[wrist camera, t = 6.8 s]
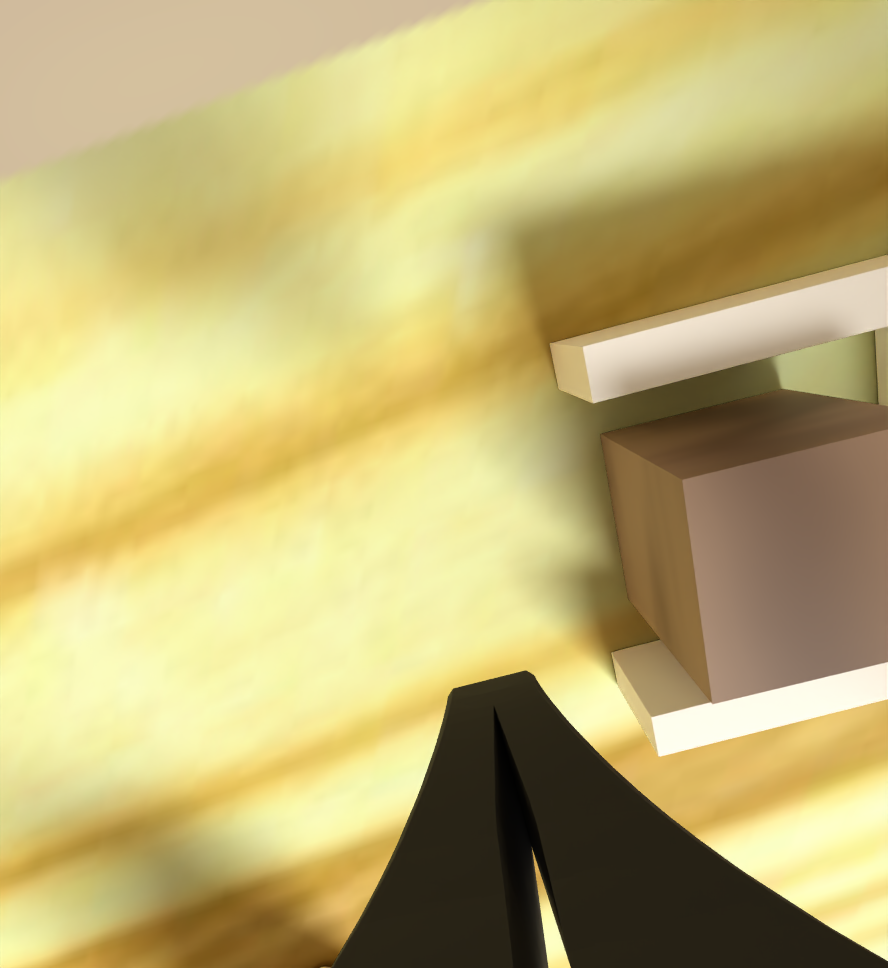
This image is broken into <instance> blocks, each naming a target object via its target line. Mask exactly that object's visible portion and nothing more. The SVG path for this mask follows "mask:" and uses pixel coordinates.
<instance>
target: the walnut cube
mask: <svg viewBox="0 0 888 968" xmlns="http://www.w3.org/2000/svg"><path fill="white" fill-rule="evenodd" d="M600 437H601V443H602V448H603V454H604V460H605V466H606V472H607V478H608V484H609V489H610V495H611V501H612V507H613V513H614V519H615V525H616V530H617V536H618V542H619V548H620V554H621V560H622V566H623V571H624V577H625V583H626V589H627V595H628V599H629V601H630V602H631V603H632V604H633V606H634V607H635V608H636V609H637V611H638V612H639V613H640V614H641V616H642V617H643V618H644V619H645V621H646V622H647V623H648V624H649V626H650V627H651V628H652V629H653V631H654V632H655V633H656V634H657V636H658V637H659V638H660V639H661V641H662V642H663V643H664V644H665V646H666V647H667V648H668V649H669V651H670V652H671V653H672V654H673V656H674V657H675V658H676V659H677V661H678V662H679V663H680V664H681V666H682V667H683V668H684V669H685V671H686V672H687V673H688V674H689V676H690V677H691V678H692V679H693V681H694V682H695V683H696V684H697V686H698V687H699V688H700V689H701V691H702V692H703V693H704V694H705V696H706V697H707V698H708V699H709V701H710V702H711V703H712V704H716V703H720V702H724V701H729V700H733V699H737V698H741V697H745V696H749V695H754V694H758V693H762V692H766V691H770V690H774V689H778V688H783V687H787V686H791V685H795V684H799V683H803V682H808V681H812V680H816V679H820V678H824V677H828V676H832V675H837V674H841V673H845V672H849V671H853V670H857V669H862V668H866V667H870V666H874V665H878V664H882V663H886V662H888V406H885V405H879V404H873V403H866V402H860V401H854V400H848V399H842V398H835V397H829V396H823V395H817V394H811V393H804V392H798V391H792V390H786V389H780V390H776V391H772V392H768V393H764V394H760V395H756V396H752V397H748V398H744V399H739V400H735V401H731V402H727V403H723V404H719V405H715V406H711V407H707V408H703V409H699V410H695V411H691V412H687V413H683V414H679V415H675V416H671V417H667V418H663V419H658V420H654V421H650V422H646V423H642V424H638V425H634V426H630V427H626V428H622V429H618V430H614V431H610V432H606V433H602V434H600Z"/></svg>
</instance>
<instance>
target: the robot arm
mask: <svg viewBox="0 0 888 968" xmlns="http://www.w3.org/2000/svg"><path fill="white" fill-rule="evenodd" d="M532 849H533V852H534V855H535V858H536V861H537V864H538V867H539V870H540V873H541V877H542V880H543V883H544V886H545V889H546V892H547V895H548V898H549V901H550V904H551V907H552V911H553V914H554V917H555V920H556V923H557V926H558V929H559V932H560V935H561V938H562V941H563V945H564V948H565V951H566V954H567V957H568V960H569V963H570V966H571V968H888V961H886V960H885V959H883V958H881V957H880V956H878V955H876V954H874V953H873V952H871V951H869V950H868V949H866V948H864V947H862V946H861V945H859V944H857V943H856V942H854V941H852V940H850V939H849V938H847V937H845V936H844V935H842V934H840V933H838V932H837V931H835V930H833V929H832V928H830V927H828V926H827V925H825V924H824V923H822V922H821V921H819V920H818V919H816V918H814V917H813V916H811V915H810V914H808V913H807V912H805V911H804V910H802V909H801V908H799V907H797V906H796V905H794V904H793V903H791V902H790V901H788V900H787V899H785V898H783V897H782V896H780V895H779V894H777V893H776V892H774V891H773V890H771V889H770V888H768V887H766V886H765V885H763V884H762V883H760V882H759V881H757V880H756V879H754V878H753V877H751V876H749V875H748V874H746V873H745V872H743V871H742V870H740V869H739V868H738V867H736V866H735V865H733V864H732V863H731V862H729V861H728V860H726V859H725V858H724V857H722V856H721V855H720V854H718V853H717V852H715V851H714V850H713V849H711V848H710V847H709V846H707V845H706V844H704V843H703V842H702V841H700V840H699V839H698V838H696V837H695V836H694V835H692V834H691V833H690V832H689V831H687V830H686V829H685V828H683V827H682V826H681V825H680V824H678V823H677V822H676V821H674V820H673V819H672V818H671V817H669V816H668V815H667V814H666V813H664V812H663V811H662V810H661V809H660V808H658V807H657V806H656V805H655V804H654V803H652V802H651V801H650V800H649V799H648V798H647V797H645V796H644V795H643V794H642V793H641V792H640V791H638V790H637V789H636V788H635V787H634V786H633V785H632V784H631V783H630V782H629V781H627V780H626V779H625V778H624V777H623V776H622V775H621V774H620V773H619V772H618V771H616V770H615V769H614V768H613V767H612V766H611V765H610V764H609V763H608V762H607V761H606V760H605V759H604V758H603V757H602V756H601V755H600V754H599V753H598V752H597V751H596V750H595V749H594V748H593V747H592V746H591V745H590V744H589V743H588V742H587V741H586V740H585V739H584V738H583V736H582V735H581V734H580V733H579V732H578V731H577V730H576V729H575V728H574V727H573V726H572V725H571V724H570V723H569V721H568V720H567V719H566V718H565V717H564V716H563V714H562V713H561V712H560V711H559V710H558V708H557V707H556V706H555V705H554V704H553V702H552V701H551V700H550V698H549V697H548V696H547V695H546V693H545V692H544V690H543V689H542V688H541V686H540V684H539V683H538V681H537V680H536V678H535V676H534V675H533V674H531V673H530V672H528V671H522V672H518V673H514V674H510V675H506V676H502V677H498V678H494V679H490V680H486V681H482V682H478V683H474V684H470V685H466V686H462V687H458V688H454V689H453V690H452V691H451V693H450V694H449V696H448V700H447V705H446V710H445V714H444V718H443V722H442V726H441V729H440V733H439V736H438V739H437V743H436V746H435V749H434V752H433V755H432V758H431V761H430V763H429V766H428V769H427V772H426V775H425V778H424V781H423V783H422V786H421V789H420V791H419V794H418V797H417V799H416V802H415V804H414V806H413V809H412V811H411V813H410V816H409V818H408V820H407V823H406V825H405V827H404V830H403V832H402V834H401V837H400V839H399V842H398V844H397V846H396V848H395V850H394V852H393V855H392V857H391V859H390V861H389V863H388V865H387V867H386V869H385V871H384V873H383V875H382V877H381V879H380V881H379V883H378V885H377V887H376V889H375V891H374V893H373V895H372V896H371V898H370V900H369V902H368V904H367V906H366V908H365V910H364V912H363V913H362V915H361V917H360V919H359V921H358V922H357V924H356V926H355V928H354V929H353V931H352V933H351V934H350V936H349V938H348V940H347V941H346V943H345V945H344V946H343V948H342V950H341V951H340V953H339V955H338V957H337V958H336V960H335V962H334V963H333V965H332V967H331V968H548V962H547V955H546V947H545V940H544V933H543V925H542V918H541V910H540V903H539V896H538V889H537V881H536V874H535V867H534V860H533V852H532Z"/></svg>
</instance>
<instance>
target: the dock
mask: <svg viewBox="0 0 888 968" xmlns="http://www.w3.org/2000/svg"><path fill="white" fill-rule="evenodd" d="M872 330H875V343H876V362H877V380H878V399H879V405H885V406H888V255H884V256H880V257H876V258H873V259H869V260H865V261H861V262H857V263H854V264H850V265H846V266H842V267H838V268H835V269H831V270H827V271H823V272H819V273H816V274H812V275H808V276H804V277H800V278H797V279H793V280H789V281H785V282H781V283H778V284H774V285H770V286H766V287H762V288H759V289H755V290H751V291H747V292H743V293H740V294H736V295H732V296H728V297H724V298H721V299H717V300H713V301H709V302H705V303H702V304H698V305H694V306H690V307H686V308H683V309H679V310H675V311H671V312H667V313H664V314H660V315H656V316H652V317H648V318H645V319H641V320H637V321H633V322H629V323H626V324H622V325H618V326H614V327H610V328H607V329H603V330H599V331H595V332H591V333H588V334H584V335H580V336H576V337H572V338H569V339H565V340H561V341H557V342H553V343H550V349H551V354H552V359H553V364H554V369H555V374H556V379H557V384H558V389H559V390H561V391H564V392H566V393H569V394H571V395H574V396H576V397H579V398H581V399H583V400H586V401H588V402H591V403H597V402H601V401H604V400H608V399H612V398H616V397H620V396H624V395H627V394H631V393H635V392H639V391H643V390H646V389H650V388H654V387H658V386H662V385H666V384H669V383H673V382H677V381H681V380H685V379H689V378H692V377H696V376H700V375H704V374H708V373H712V372H715V371H719V370H723V369H727V368H731V367H734V366H738V365H742V364H746V363H750V362H754V361H757V360H761V359H765V358H769V357H773V356H777V355H780V354H784V353H788V352H792V351H796V350H800V349H803V348H807V347H811V346H815V345H819V344H823V343H826V342H830V341H834V340H838V339H842V338H845V337H849V336H853V335H857V334H861V333H865V332H868V331H872ZM611 654H612V659H613V664H614V669H615V674H616V679H617V684H618V687H619V689H620V691H621V692H622V694H623V696H624V698H625V699H626V701H627V703H628V704H629V706H630V708H631V710H632V711H633V713H634V715H635V717H636V718H637V720H638V722H639V724H640V725H641V727H642V729H643V730H644V732H645V734H646V736H647V737H648V739H649V741H650V743H651V744H652V746H653V748H654V750H655V751H656V753H657V755H658V757H660V756H664V755H668V754H672V753H676V752H680V751H684V750H688V749H691V748H695V747H699V746H703V745H707V744H711V743H715V742H719V741H723V740H727V739H731V738H735V737H739V736H743V735H747V734H751V733H755V732H759V731H763V730H767V729H771V728H775V727H779V726H783V725H787V724H791V723H795V722H799V721H803V720H807V719H811V718H815V717H819V716H823V715H826V714H830V713H834V712H838V711H842V710H846V709H850V708H854V707H858V706H862V705H866V704H870V703H874V702H878V701H882V700H886V699H888V662H886V663H882V664H878V665H874V666H870V667H866V668H862V669H857V670H853V671H849V672H845V673H841V674H837V675H832V676H828V677H824V678H820V679H816V680H812V681H808V682H803V683H799V684H795V685H791V686H787V687H783V688H778V689H774V690H770V691H766V692H762V693H758V694H754V695H749V696H745V697H741V698H737V699H733V700H729V701H724V702H720V703H716V704H712V703H711V702H710V701H709V699H708V698H707V697H706V696H705V694H704V693H703V692H702V691H701V689H700V688H699V687H698V686H697V684H696V683H695V682H694V681H693V679H692V678H691V677H690V676H689V674H688V673H687V672H686V671H685V669H684V668H683V667H682V666H681V664H680V663H679V662H678V661H677V659H676V658H675V657H674V656H673V654H672V653H671V652H670V651H669V649H668V648H667V647H666V646H665V644H664V643H663V642H662V641H661V640H658V641H654V642H650V643H646V644H642V645H638V646H634V647H630V648H626V649H622V650H618V651H614V652H611Z"/></svg>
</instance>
